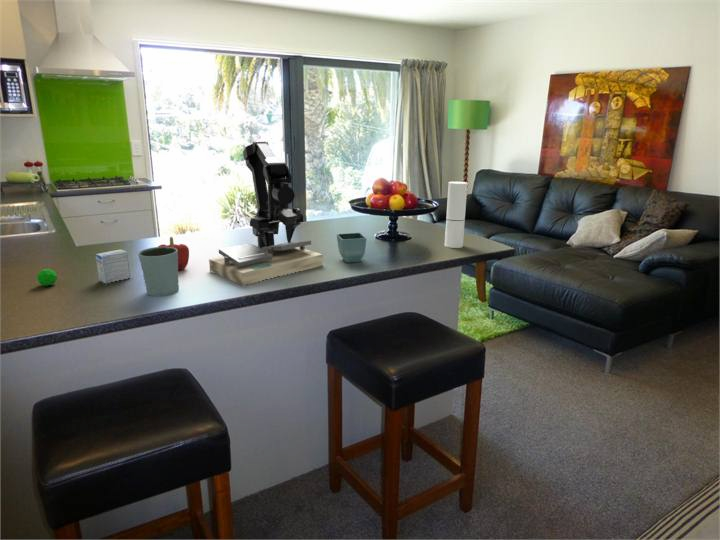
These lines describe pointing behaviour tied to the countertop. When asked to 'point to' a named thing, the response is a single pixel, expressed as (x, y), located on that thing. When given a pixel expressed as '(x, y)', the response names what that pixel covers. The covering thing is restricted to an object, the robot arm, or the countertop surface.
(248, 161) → the robot arm
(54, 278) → the polyhedron
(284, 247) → the rocker right
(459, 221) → the white tall block
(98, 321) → the countertop surface
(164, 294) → the grey-green cup
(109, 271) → the medicine box
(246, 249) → the rocker left
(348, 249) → the flower pot
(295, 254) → the switch unit
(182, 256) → the vegetable
